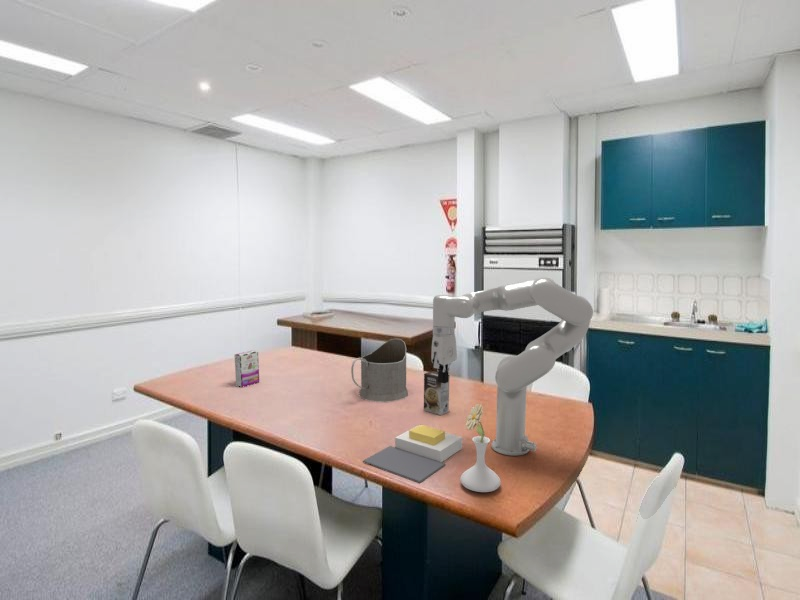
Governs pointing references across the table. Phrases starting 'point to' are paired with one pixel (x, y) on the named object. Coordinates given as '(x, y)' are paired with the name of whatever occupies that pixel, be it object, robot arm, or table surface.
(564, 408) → the table surface
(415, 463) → the mat
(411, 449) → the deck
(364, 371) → the pitcher
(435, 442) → the tile
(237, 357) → the candy bar box
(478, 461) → the flower in vase
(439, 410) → the coffee box
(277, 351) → the table surface
